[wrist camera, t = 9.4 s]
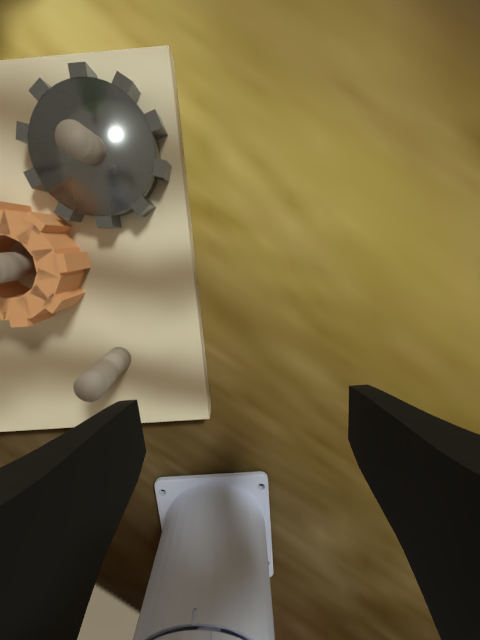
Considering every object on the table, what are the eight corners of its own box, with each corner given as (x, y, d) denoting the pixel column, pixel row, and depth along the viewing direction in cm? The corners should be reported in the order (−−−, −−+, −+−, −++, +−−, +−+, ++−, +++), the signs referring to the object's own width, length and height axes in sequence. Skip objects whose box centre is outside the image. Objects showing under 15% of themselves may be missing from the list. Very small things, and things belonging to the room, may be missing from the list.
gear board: (211, 408, 21) (201, 462, 16) (-50, 425, 21) (-140, 482, 16) (173, 59, 16) (142, -24, 11) (-168, 89, 16) (-351, 22, 11)
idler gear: (99, 312, 18) (78, 322, 16) (-3, 319, 18) (-38, 330, 16) (78, 202, 16) (51, 196, 14) (-33, 211, 17) (-77, 206, 14)
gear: (178, 223, 17) (174, 222, 16) (51, 233, 17) (36, 232, 16) (160, 69, 15) (153, 55, 14) (18, 82, 15) (-1, 69, 14)
